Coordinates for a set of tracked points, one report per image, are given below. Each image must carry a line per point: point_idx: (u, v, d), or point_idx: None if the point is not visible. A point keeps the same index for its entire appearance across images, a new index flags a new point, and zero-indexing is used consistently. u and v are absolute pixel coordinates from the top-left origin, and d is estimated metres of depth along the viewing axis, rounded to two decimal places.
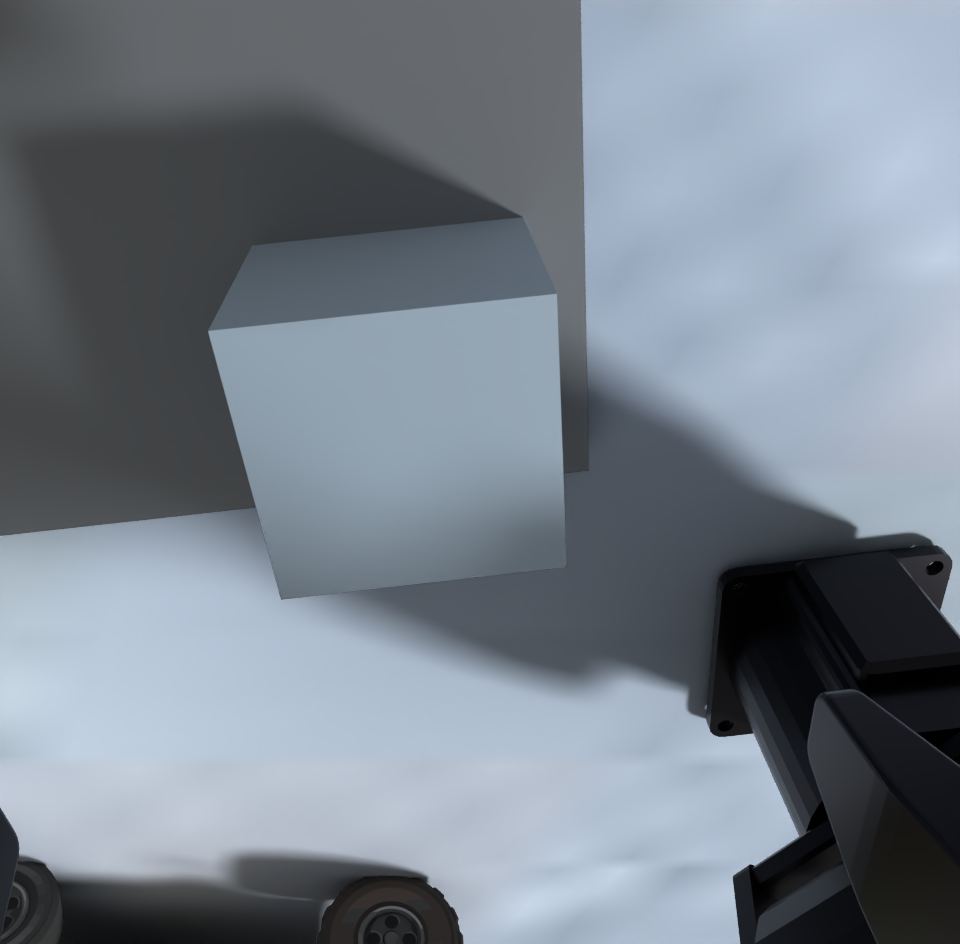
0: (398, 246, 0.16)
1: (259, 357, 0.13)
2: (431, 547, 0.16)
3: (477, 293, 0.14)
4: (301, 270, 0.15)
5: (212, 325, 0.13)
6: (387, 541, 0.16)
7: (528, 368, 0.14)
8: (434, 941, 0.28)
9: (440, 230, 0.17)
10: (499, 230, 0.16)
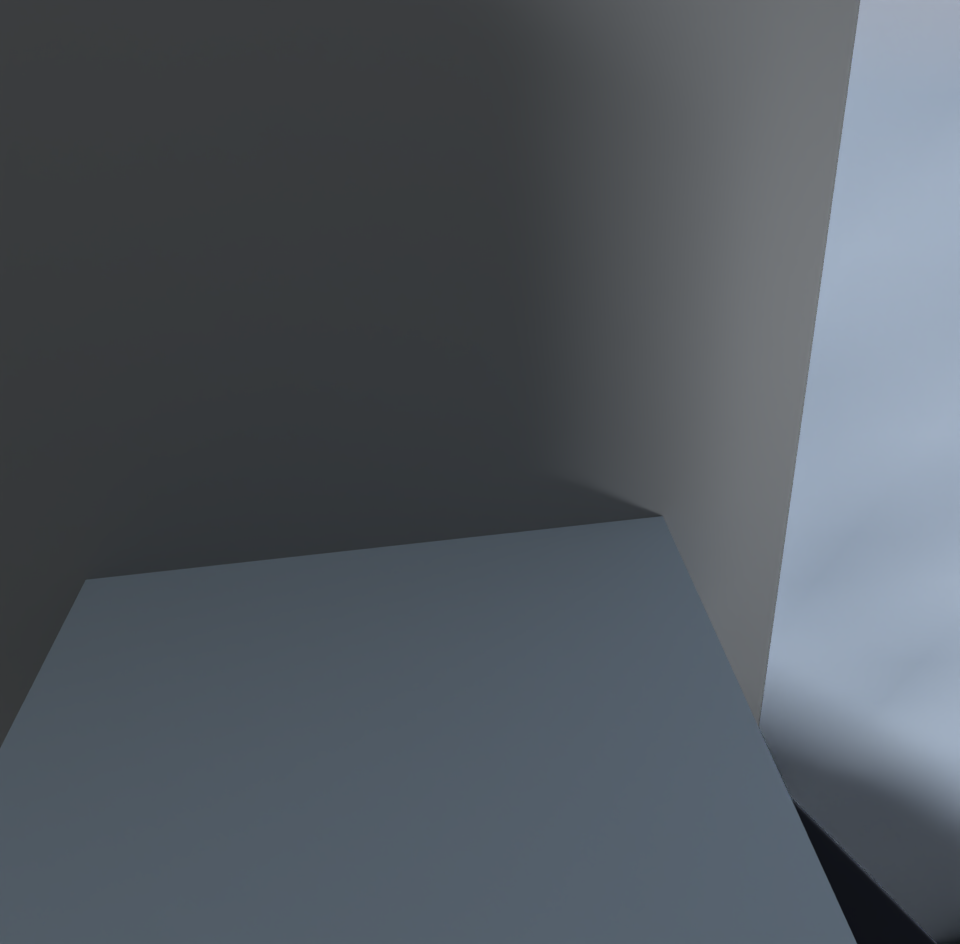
0: (400, 623, 0.07)
1: None
2: None
3: None
4: (161, 728, 0.06)
5: None
6: None
7: None
8: None
9: (489, 558, 0.08)
10: (623, 574, 0.07)
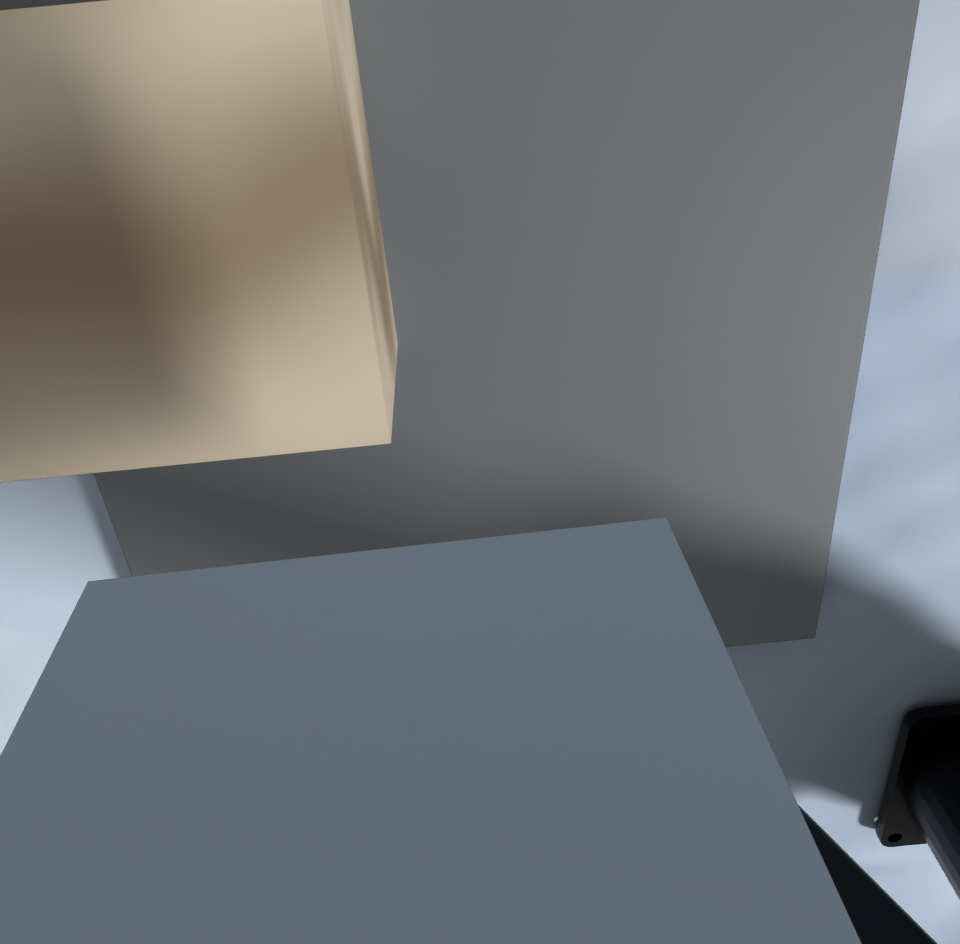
0: (402, 624, 0.07)
1: None
2: None
3: None
4: (165, 731, 0.06)
5: None
6: None
7: None
8: None
9: (493, 559, 0.08)
10: (627, 576, 0.07)
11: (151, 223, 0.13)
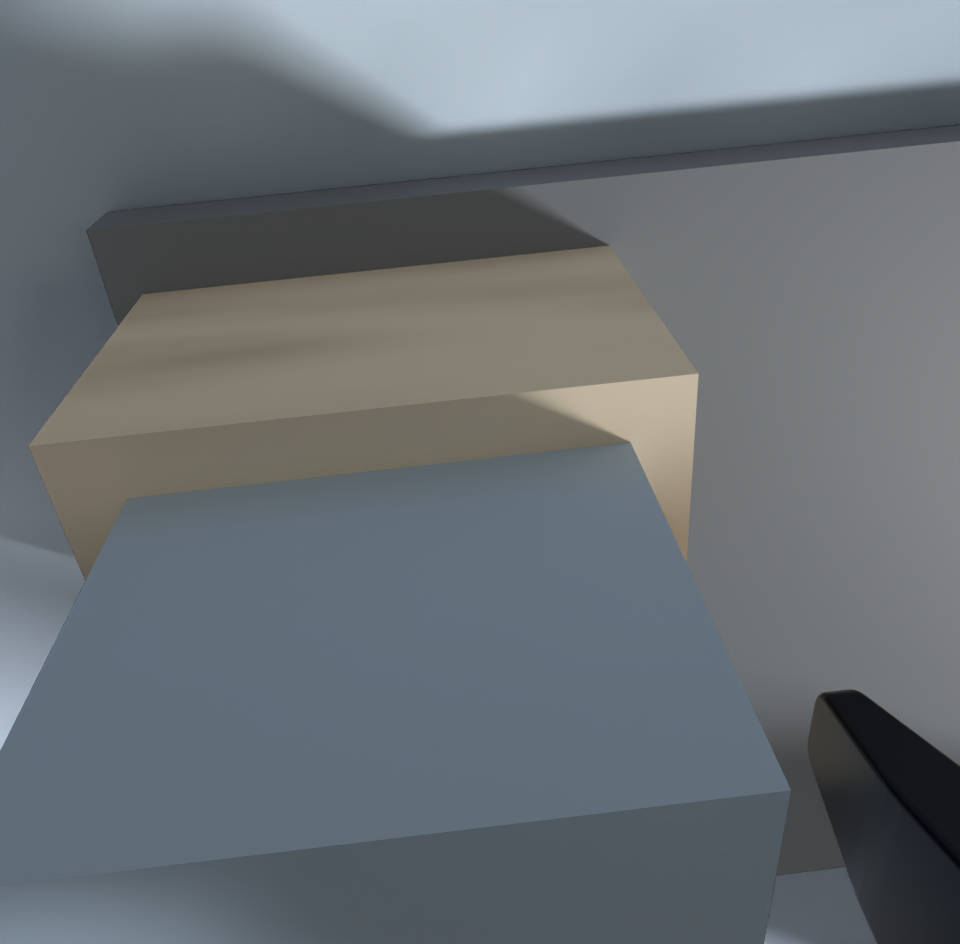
0: (401, 526, 0.08)
1: (67, 928, 0.06)
2: None
3: (588, 758, 0.06)
4: (200, 606, 0.07)
5: None
6: None
7: (701, 909, 0.06)
8: None
9: (480, 475, 0.09)
10: (595, 487, 0.09)
11: None
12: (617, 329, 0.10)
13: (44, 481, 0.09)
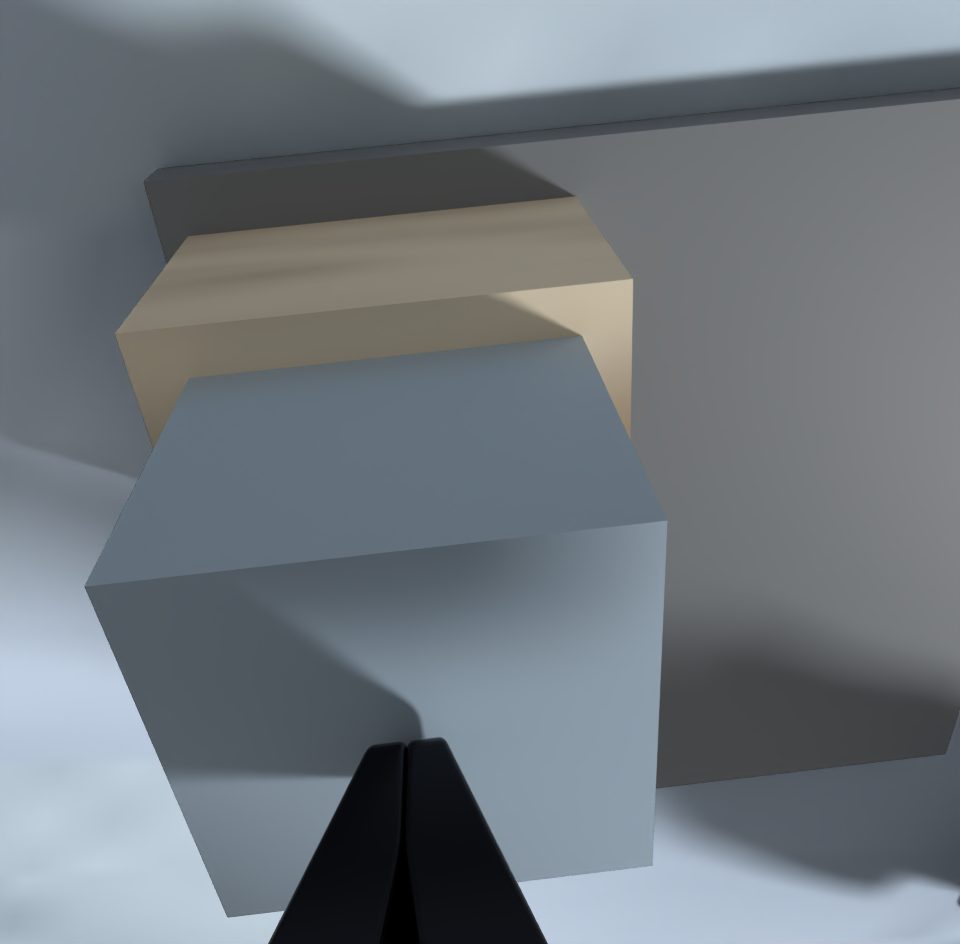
0: (402, 389, 0.11)
1: (173, 621, 0.08)
2: None
3: (532, 509, 0.08)
4: (253, 438, 0.10)
5: (95, 571, 0.08)
6: None
7: (613, 623, 0.09)
8: None
9: (463, 358, 0.11)
10: (552, 364, 0.11)
11: None
12: (574, 252, 0.13)
13: (125, 363, 0.11)
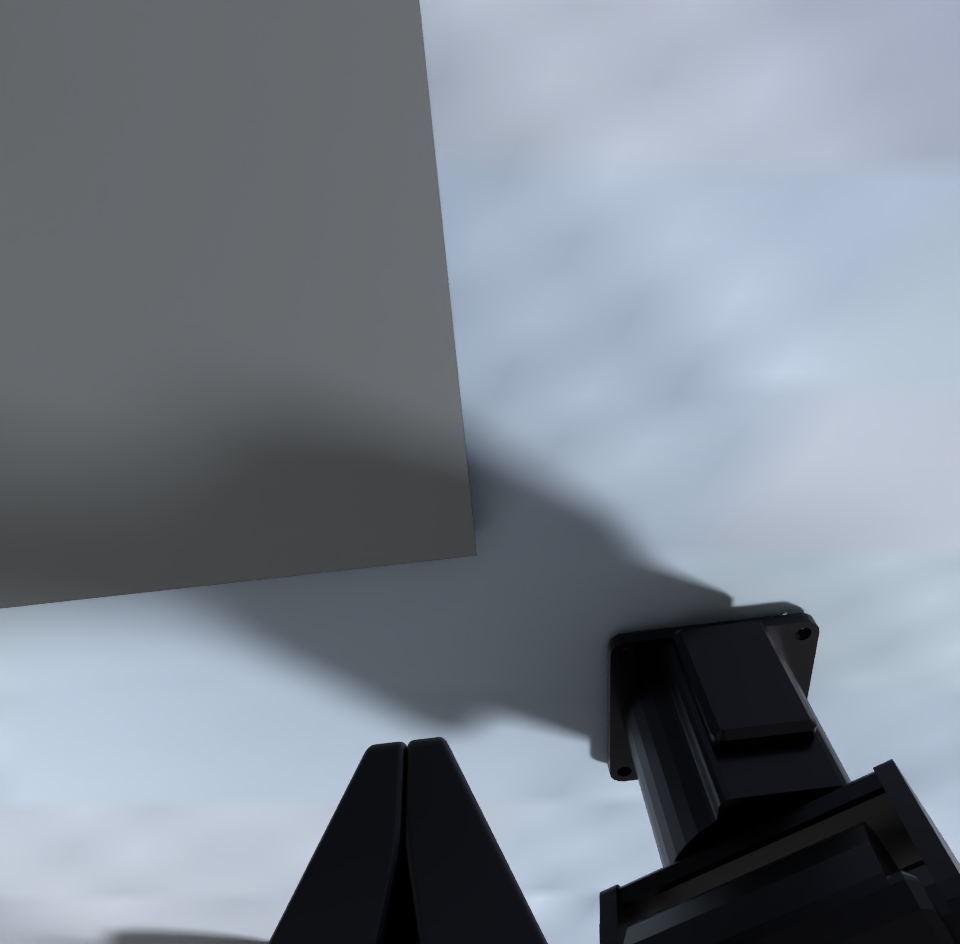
0: None
1: None
2: None
3: None
4: None
5: None
6: None
7: None
8: None
9: None
10: None
11: None
12: None
13: None
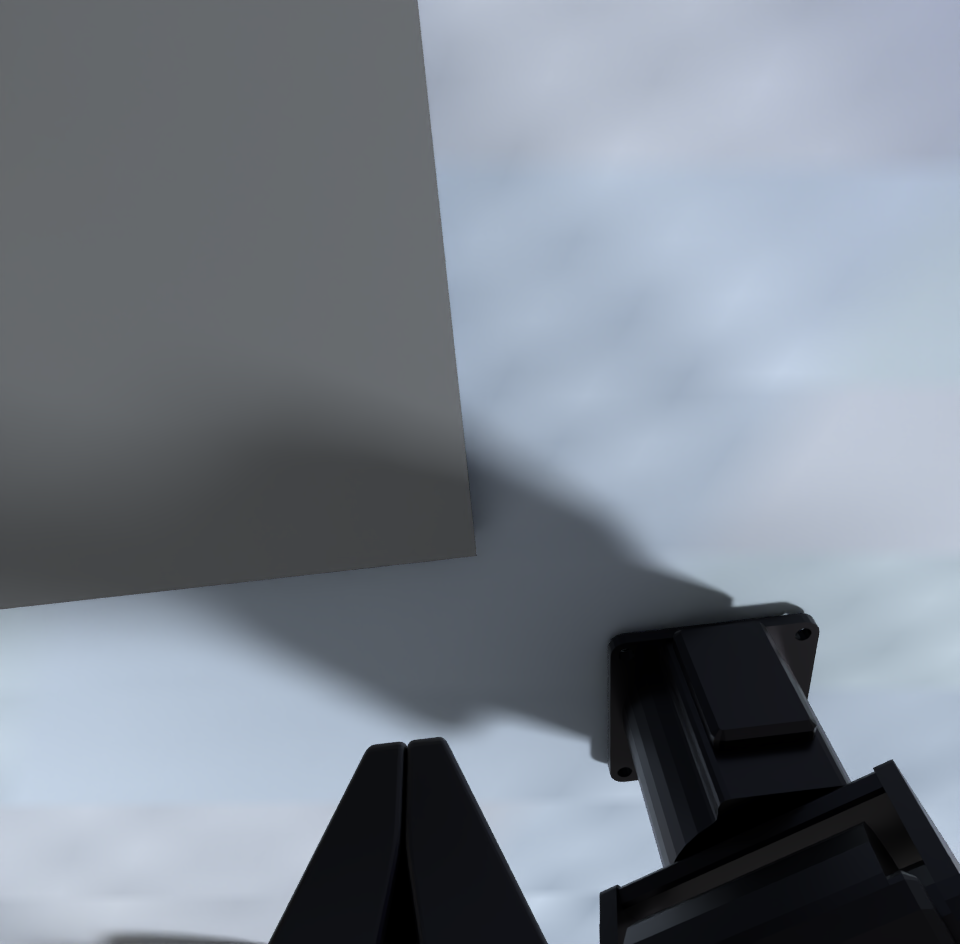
0: None
1: None
2: None
3: None
4: None
5: None
6: None
7: None
8: None
9: None
10: None
11: None
12: None
13: None
